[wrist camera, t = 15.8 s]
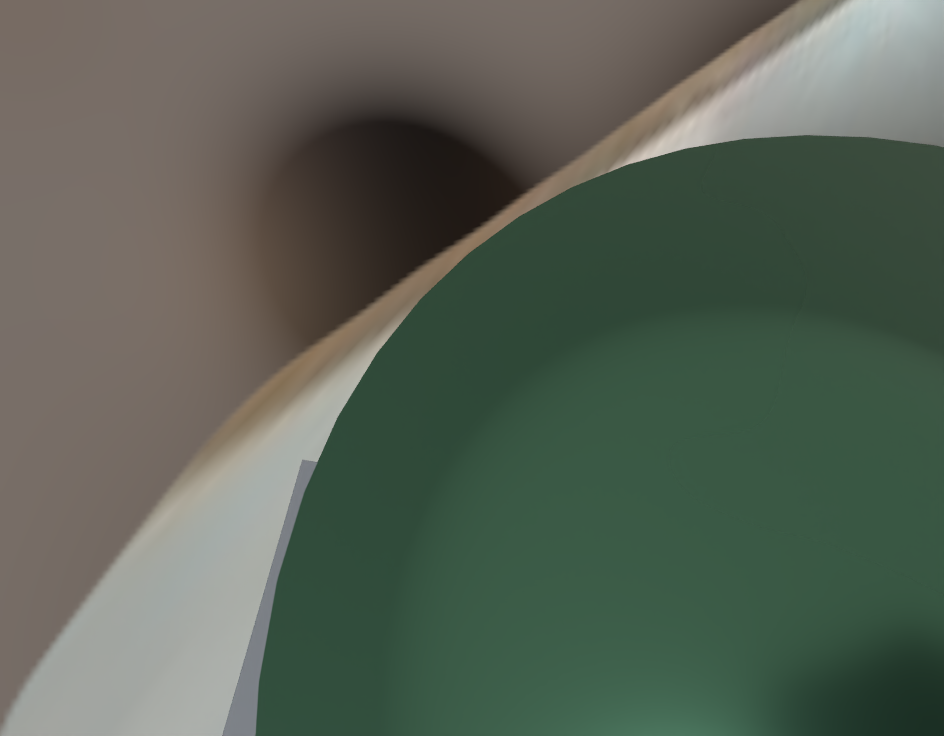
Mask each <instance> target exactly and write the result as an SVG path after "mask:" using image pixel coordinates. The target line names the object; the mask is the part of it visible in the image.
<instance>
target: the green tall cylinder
mask: <svg viewBox="0 0 944 736" xmlns="http://www.w3.org/2000/svg"><path fill="white" fill-rule="evenodd" d="M255 736H944V147H940V146H934V145H926V144H918V143H910V142H902V141H894V140H886V139H878V138H869V137H840V136H811V135H804V136H787V137H771V138H754V139H742V140H736V141H730V142H724V143H718V144H712V145H706V146H699V147H693V148H687V149H683V150H679V151H676V152H672V153H668V154H665V155H661V156H658V157H654V158H650V159H647V160H643V161H640V162H636V163H632V164H629V165H626V166H623V167H621V168H618V169H616V170H614V171H611V172H609V173H606V174H604V175H601V176H599V177H596V178H594V179H591V180H589V181H586V182H584V183H581V184H579V185H577V186H574V187H572V188H570V189H568V190H566V191H565V192H563V193H561V194H559V195H557V196H556V197H554V198H552V199H550V200H548V201H547V202H545V203H543V204H541V205H539V206H537V207H536V208H534V209H532V210H530V211H528V212H527V213H525V214H523V215H521V216H519V217H518V218H517V219H515V220H514V221H513V222H511V223H510V224H508V225H507V226H506V227H504V228H503V229H502V230H500V231H499V232H497V233H496V234H495V235H493V236H492V237H491V238H489V239H488V240H487V241H485V242H484V243H482V244H481V245H480V246H478V247H477V248H476V249H474V250H473V251H471V252H470V253H469V254H468V255H467V256H466V257H464V258H463V259H462V260H461V261H460V262H459V263H458V264H457V265H456V266H455V267H454V268H453V269H452V270H451V271H450V272H449V273H448V274H447V275H446V276H444V277H443V278H442V279H441V280H440V281H439V282H438V283H437V284H436V285H435V286H434V287H433V288H432V289H431V290H430V291H429V292H428V293H427V294H426V295H425V296H423V297H422V298H421V299H420V301H419V302H418V303H417V304H416V306H415V307H414V308H413V309H412V311H411V312H410V313H409V314H408V316H407V317H406V318H405V319H404V320H403V322H402V323H401V324H400V325H399V327H398V328H397V329H396V330H395V332H394V333H393V334H392V335H391V337H390V338H389V339H388V340H387V342H386V343H385V344H384V345H383V346H382V348H381V349H380V350H379V351H378V353H377V354H376V356H375V357H374V359H373V361H372V362H371V364H370V366H369V367H368V369H367V370H366V372H365V374H364V375H363V377H362V379H361V380H360V382H359V384H358V385H357V387H356V388H355V390H354V392H353V393H352V395H351V397H350V398H349V400H348V401H347V403H346V405H345V406H344V408H343V410H342V411H341V413H340V414H339V416H338V418H337V420H336V422H335V425H334V427H333V429H332V431H331V434H330V436H329V438H328V440H327V442H326V445H325V447H324V449H323V451H322V454H321V456H320V458H319V460H318V462H317V465H316V467H315V469H314V471H313V474H312V476H311V478H310V480H309V482H308V485H307V487H306V489H305V491H304V494H303V497H302V501H301V504H300V507H299V510H298V514H297V517H296V520H295V523H294V527H293V530H292V533H291V536H290V540H289V543H288V546H287V550H286V553H285V556H284V559H283V563H282V566H281V569H280V572H279V576H278V579H277V583H276V589H275V594H274V600H273V606H272V611H271V617H270V622H269V628H268V633H267V639H266V645H265V650H264V656H263V661H262V667H261V672H260V678H259V687H258V703H257V719H256V735H255Z"/></svg>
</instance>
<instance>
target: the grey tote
mask: <svg viewBox="0 0 944 736" xmlns="http://www.w3.org/2000/svg"><path fill="white" fill-rule="evenodd" d="M316 465H317V462H313V461H307V460H302V463H301V466H300V470H299V473H298V476H297V480H296V483H295V487H294V490H293V494H292V497H291V501H290V504H289V507H288V511H287V514H286V518H285V521H284V525H283V528H282V532H281V535H280V538H279V542H278V545H277V549H276V552H275V556H274V559H273V563H272V566H271V569H270V573H269V576H268V580H267V583H266V587H265V590H264V594H263V597H262V601H261V604H260V607H259V611H258V614H257V618H256V621H255V625H254V628H253V632H252V635H251V638H250V642H249V645H248V649H247V652H246V656H245V659H244V663H243V666H242V669H241V673H240V676H239V680H238V683H237V687H236V690H235V694H234V697H233V700H232V704H231V707H230V711H229V714H228V718H227V721H226V725H225V728H224V731H223V735H222V736H255V735H256V719H257V703H258V687H259V678H260V672H261V667H262V661H263V656H264V650H265V645H266V639H267V633H268V628H269V622H270V617H271V611H272V606H273V600H274V594H275V589H276V583H277V579H278V576H279V572H280V569H281V566H282V563H283V559H284V556H285V553H286V550H287V546H288V543H289V540H290V536H291V533H292V530H293V527H294V523H295V520H296V517H297V514H298V510H299V507H300V504H301V501H302V497H303V494H304V491H305V489H306V487H307V485H308V482H309V480H310V478H311V476H312V474H313V471H314V469H315V467H316Z"/></svg>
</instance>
